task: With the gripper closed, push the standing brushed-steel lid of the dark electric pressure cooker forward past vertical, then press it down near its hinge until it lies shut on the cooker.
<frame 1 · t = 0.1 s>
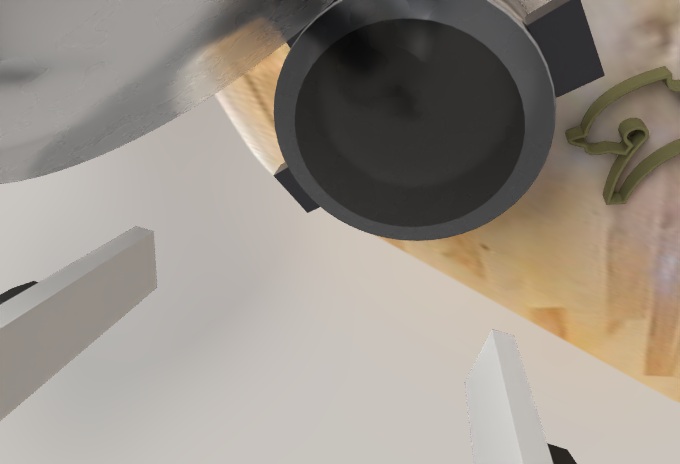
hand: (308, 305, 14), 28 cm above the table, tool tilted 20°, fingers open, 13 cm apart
cooker: (417, 84, 35), on the table
lid: (176, 31, 14), point 22 cm above the table, hinge at 100.0°
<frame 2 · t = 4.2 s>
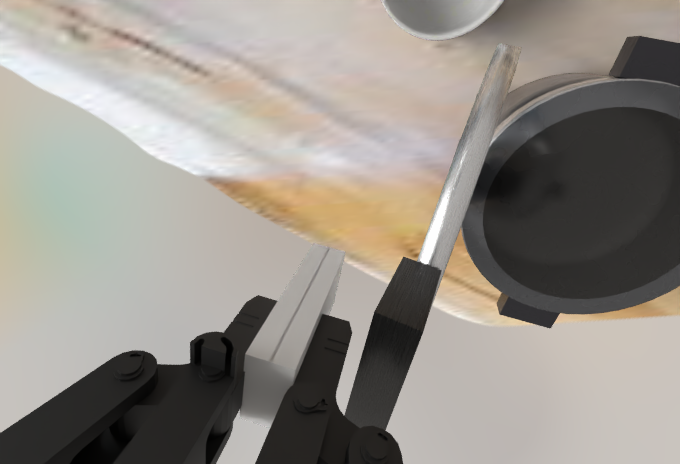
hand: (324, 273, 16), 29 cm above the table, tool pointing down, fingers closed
cooker: (551, 174, 39), on the table
lid: (437, 235, 21), point 22 cm above the table, hinge at 100.0°, touching gripper
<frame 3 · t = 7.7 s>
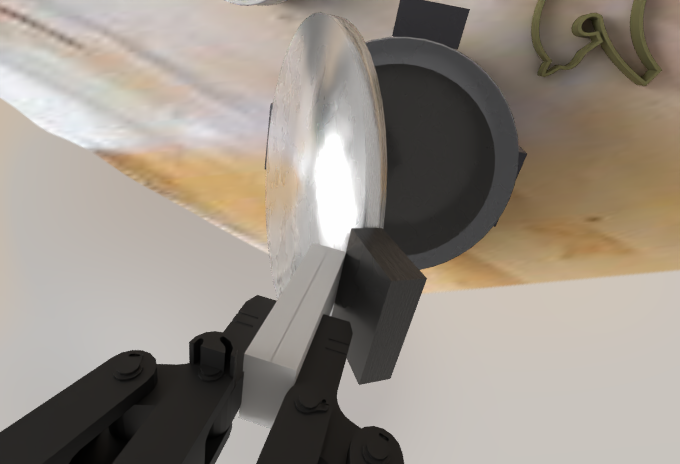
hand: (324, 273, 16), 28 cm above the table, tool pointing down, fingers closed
cooker: (399, 143, 41), on the table
lid: (306, 199, 22), point 21 cm above the table, hinge at 56.9°, touching gripper
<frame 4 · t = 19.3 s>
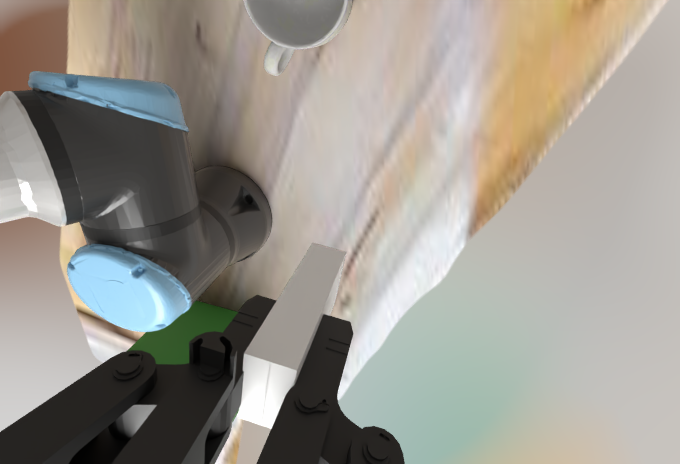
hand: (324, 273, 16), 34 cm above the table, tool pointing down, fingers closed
hardback book: (227, 323, 68), on the table
teacup: (308, 11, 43), on the table
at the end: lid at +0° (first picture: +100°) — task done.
